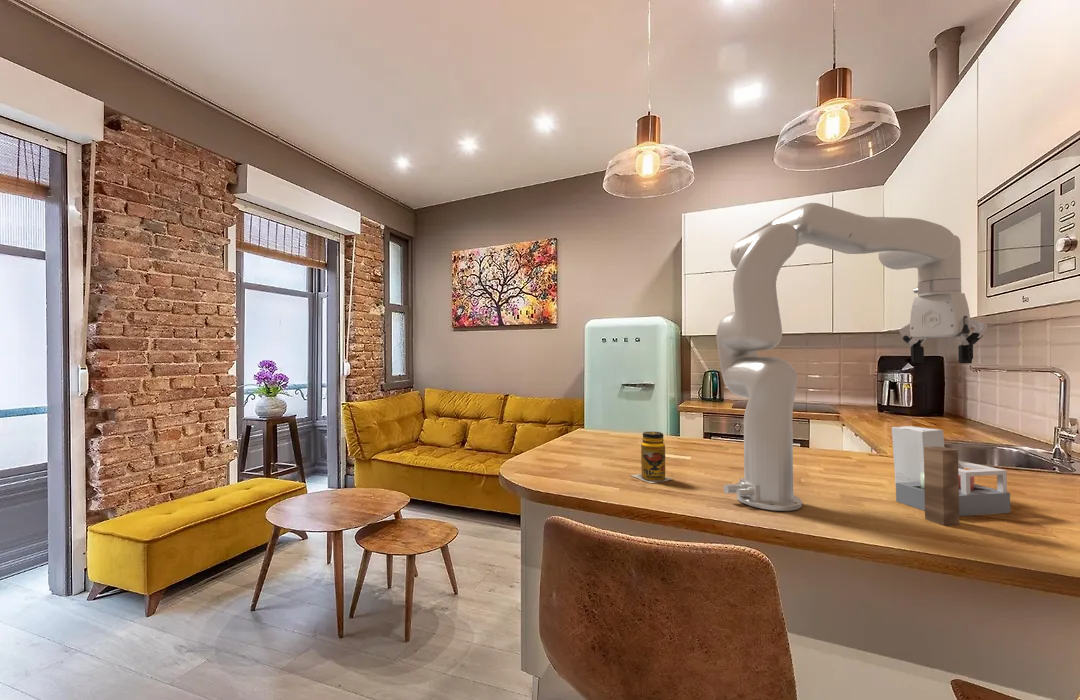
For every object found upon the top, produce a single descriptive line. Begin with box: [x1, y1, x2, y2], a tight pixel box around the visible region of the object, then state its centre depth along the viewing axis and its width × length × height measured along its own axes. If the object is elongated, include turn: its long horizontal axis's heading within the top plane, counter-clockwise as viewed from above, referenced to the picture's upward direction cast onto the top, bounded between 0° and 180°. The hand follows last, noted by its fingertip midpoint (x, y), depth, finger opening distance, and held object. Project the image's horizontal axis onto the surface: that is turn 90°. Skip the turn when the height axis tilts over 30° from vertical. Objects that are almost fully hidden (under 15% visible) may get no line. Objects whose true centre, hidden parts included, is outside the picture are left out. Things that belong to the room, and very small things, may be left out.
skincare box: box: [891, 425, 945, 487], centre depth 106 cm, size 8×6×15 cm
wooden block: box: [924, 446, 960, 526], centre depth 86 cm, size 4×4×14 cm
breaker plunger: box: [959, 475, 975, 491], centre depth 95 cm, size 4×4×3 cm
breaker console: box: [895, 460, 1011, 517], centre depth 95 cm, size 16×10×8 cm, turn 99°
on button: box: [921, 472, 924, 490], centre depth 94 cm, size 3×3×4 cm
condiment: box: [630, 431, 673, 484], centre depth 118 cm, size 7×8×12 cm
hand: (940, 363), depth 104 cm, fingers open, 9 cm apart
